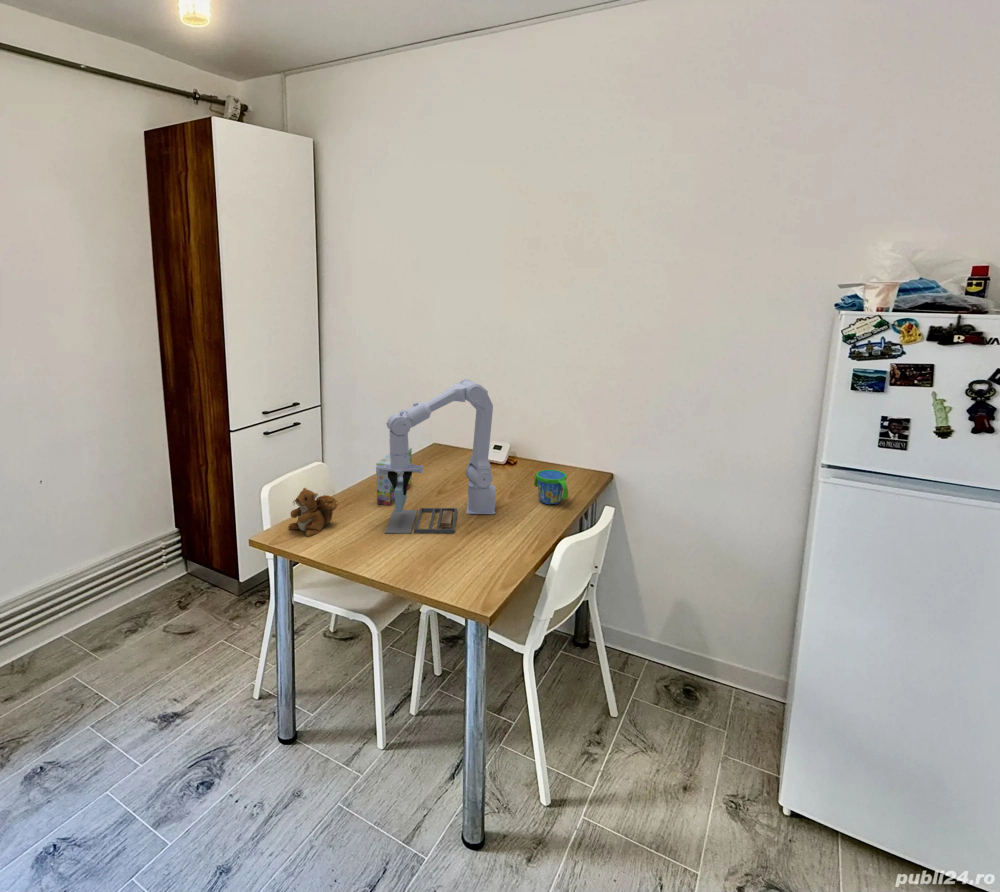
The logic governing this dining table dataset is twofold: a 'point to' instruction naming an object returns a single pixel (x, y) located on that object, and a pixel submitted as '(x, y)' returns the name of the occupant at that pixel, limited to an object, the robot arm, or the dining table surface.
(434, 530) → the metal rack
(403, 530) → the charcoal mat
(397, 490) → the blue-grey rectangular block
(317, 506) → the stuffed squirrel
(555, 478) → the snack cup
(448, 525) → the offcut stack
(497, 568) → the dining table surface
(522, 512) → the dining table surface
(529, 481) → the dining table surface
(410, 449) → the snack box
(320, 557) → the dining table surface
